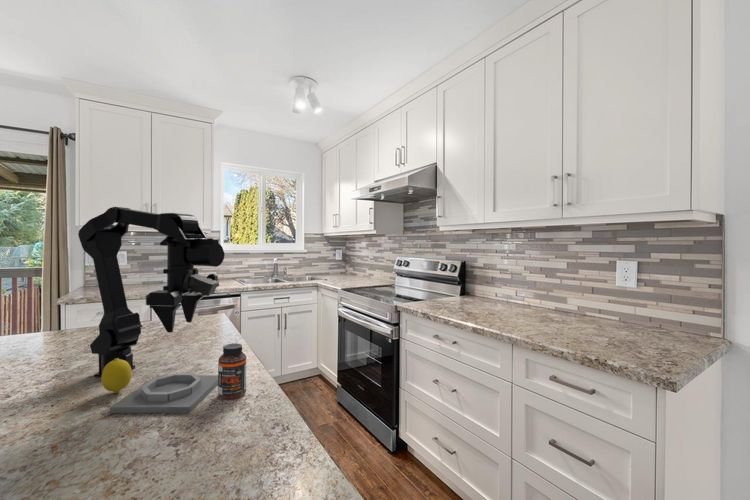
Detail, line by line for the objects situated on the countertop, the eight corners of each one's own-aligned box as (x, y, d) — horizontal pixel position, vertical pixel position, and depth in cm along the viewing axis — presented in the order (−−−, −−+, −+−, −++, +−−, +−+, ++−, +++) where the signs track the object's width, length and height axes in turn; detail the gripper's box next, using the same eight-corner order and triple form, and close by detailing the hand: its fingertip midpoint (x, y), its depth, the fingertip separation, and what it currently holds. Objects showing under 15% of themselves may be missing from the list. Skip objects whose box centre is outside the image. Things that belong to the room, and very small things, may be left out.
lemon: (115, 399, 74) (115, 363, 74) (95, 397, 76) (94, 361, 75) (137, 388, 80) (137, 355, 80) (118, 386, 81) (117, 353, 81)
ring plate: (109, 413, 69) (109, 399, 69) (157, 380, 85) (157, 369, 85) (189, 412, 69) (189, 399, 69) (222, 380, 85) (222, 369, 85)
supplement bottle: (218, 403, 74) (218, 351, 73) (217, 392, 79) (217, 343, 78) (248, 397, 76) (247, 347, 76) (244, 387, 82) (244, 340, 81)
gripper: (196, 269, 75) (195, 339, 76) (228, 262, 94) (227, 318, 94) (144, 267, 74) (143, 338, 75) (186, 261, 93) (186, 317, 94)
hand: (180, 327), depth 84 cm, fingers open, 9 cm apart
